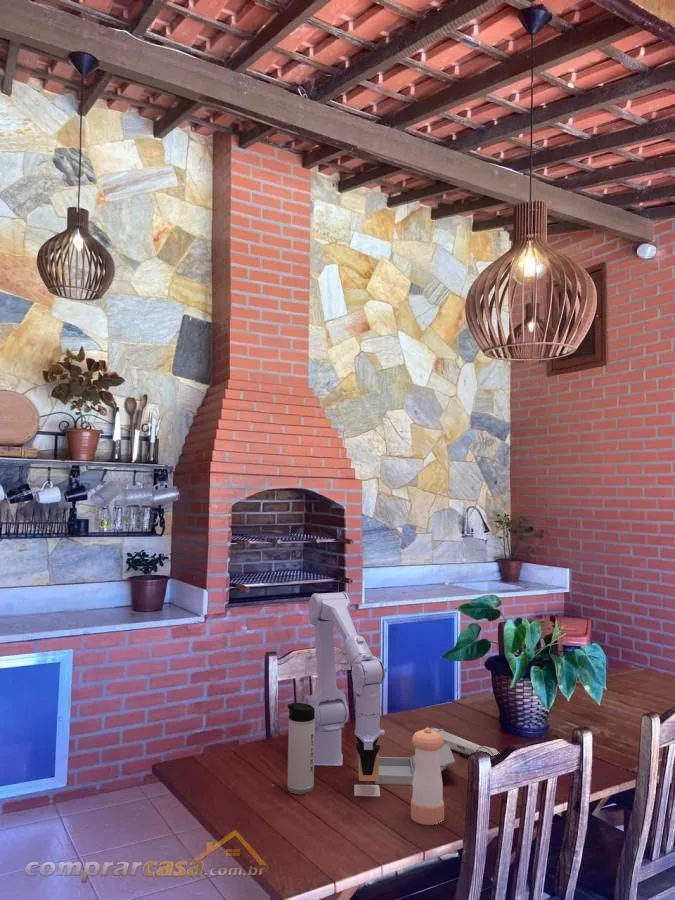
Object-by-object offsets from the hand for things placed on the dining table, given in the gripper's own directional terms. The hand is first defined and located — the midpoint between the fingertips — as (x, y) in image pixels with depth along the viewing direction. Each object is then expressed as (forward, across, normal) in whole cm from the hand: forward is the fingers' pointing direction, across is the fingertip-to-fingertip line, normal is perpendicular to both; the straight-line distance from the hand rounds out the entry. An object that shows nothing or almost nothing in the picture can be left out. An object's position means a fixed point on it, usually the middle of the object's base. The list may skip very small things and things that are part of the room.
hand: (367, 770), depth 166 cm
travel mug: (+5, +1, +16) cm, 17 cm away
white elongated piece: (+3, +24, -24) cm, 34 cm away
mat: (+5, 0, 0) cm, 5 cm away
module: (+2, 0, 0) cm, 2 cm away
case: (+5, +10, -12) cm, 16 cm away
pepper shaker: (+5, -12, -13) cm, 18 cm away
